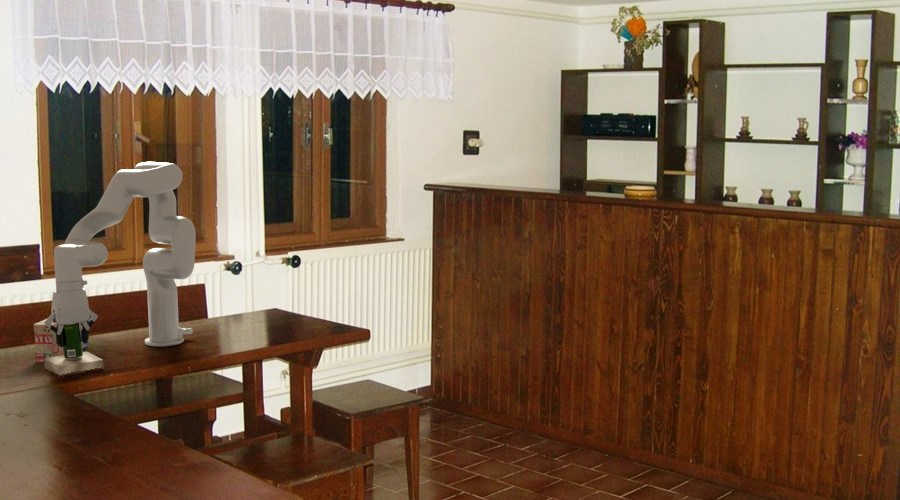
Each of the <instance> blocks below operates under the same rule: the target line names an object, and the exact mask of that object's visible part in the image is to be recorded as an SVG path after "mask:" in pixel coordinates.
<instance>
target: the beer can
mask: <svg viewBox="0 0 900 500" xmlns="http://www.w3.org/2000/svg"><path fill="white" fill-rule="evenodd" d="M62 334H63V340H64V347H63V353H64V358H65V359H66V360H77V359H80V358H82V356H83V352H84V350H83V349H82V343H81V335H80V327H79V323H70V324H67V325H64V327H63V329H62Z"/></svg>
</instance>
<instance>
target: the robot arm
mask: <svg viewBox="0 0 900 500" xmlns="http://www.w3.org/2000/svg"><path fill="white" fill-rule="evenodd" d="M182 181H183V172H182V169H181V168H180V167H179V166H178V165H177V164H175V163H172V162H171V163H170V162H156V161H145V162H144V161H143V162H139V163H138V164H136V165H135V166H134V169H128V168H126V169H120V170H118V171H117V172H116V173H114V175H113V176H112V178H111V180H110V182H109V184H108V185H107V187H106V189H105V190H104V193H103V194H102V196H101V198H100V200H99V201H98V204H97V205H96V207H95V208H94V209H92V210H91V211H90V212H88V213H86V215H85V216H83V217H82V218H81V219H80V220H79V221H78V222H77V223H76V224H74V226H73V227H72V228H71V230H70V232H69V233H68V235H67V237H66V239H65V241H64V243H63V244H59V245H57V246H55V247H54V249H53V261H54V278H55V290H53V292H52V298H51V314H50V315H49V316H48V317H47V318H48V319H47V318H46V319H47V320H46V321H45V322H44V324H45V325H46V326H47V327H49V328H50V329H51V330H52V331H53V332H55V333H56V343H57V345H58V346H60V347H64V340H63V334H62V329H63V327H64V325H67V324H70V323H80V324H81V326H82V329H81V341H82V342H83V343H85V344H87V343H88V344H89V330H90V329H91V327H92V326H93V325H94V323H95V322H96V321H97V319H98V317H99V315H98V314H97V313H95V312H93V310H91V309H90V307H89V301H88V295H87V292H86V289H85V288H84V286H85V285H88V280H86V279H83V268H84V267H88V268H89V267H98V266H100V265H103V264H104V263H105V262H106V261H107V259H108V257H109V250H108V249H107V247H106V245H104V244H103V243H101V242H97V241H92V238H93V237H95V235H97V233H99V232H101V231H103V230H106V229H108V228H110V227H113V226H114V225H117V224H119V223H120V222H122V221H123V219H124V217H125V215H126V214H127V211H128V209H129V208H130V206H131V204H132V202H133V200H134V199H135V198H148V202H149V215H148V220H149V221H148V235H149V239H150V240H151V241H152V242H153V243H156V244H160V245H168V246H171V248H164V247H154V248H151V249H149V250H148V251H147V252H146V253H145V254H144V256H143V257H142V269H143V273H144V277H145V282H146V293H147V311H148V313H147V315H148V333H149V334H148V336H149V337H147V338H145V339H144V344H145V345H146V346H149V347H169V346H176V345H180V344H182V343H184V341H185V338H184V336H185V335H189V334H190V335H191V334H193V333H194V329H193V328H192V327H187V328H186V327H180V326H179V324H180V323H179V306H178V304H179V302H178V301H179V300H178V286H177V284H176V281H175V280H186V279H188V278H189V277H190V276H191V275H192V274H193V271H194V268H195V263H196V262H195V260H196V258H195V257H196V241H197V240H196V237H197V236H196V235H197V234H196V232H197V231H196V227H195V226H194V223H193V221H192V220H191V219H189V218H188V217H185V216H180V215H178V216H177V199H176V194H175V192H174V190H176V189H178V187H179V186H180V185H181V183H182ZM51 322H54V323H57V324H56V327H54V326H53V325H52V324H51ZM87 340H88V342H87Z"/></svg>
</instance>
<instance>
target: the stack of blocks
mask: <svg viewBox="0 0 900 500" xmlns="http://www.w3.org/2000/svg"><path fill="white" fill-rule="evenodd" d="M47 319H48V317H47V318H45V319H43V320H40V321H39V322H36V323H34V324H33V333H34V334H33V338H34V339H33V340H34V349H35V351H34V352H35V353H34V354H35V363H44V358H49V357H55V356H62V355H64V353H63V347H60V346H58V345H57V343H56V333H55V332H53V331H52V330H51V329H50V328H49V327H47V326H46V325H45V324H44V322H45V321H46V320H47ZM51 324H52V325H53V326H54V327H56V324H57V323H54V322H51ZM79 327H80V335H81V329H82V326H81V324H80V323H79ZM87 342H88V343H87V344H85V343H83V342H82V341H81V343H82V350H84V349H85V348H87V347H89V340H87Z"/></svg>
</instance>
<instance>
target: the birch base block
mask: <svg viewBox="0 0 900 500" xmlns="http://www.w3.org/2000/svg"><path fill="white" fill-rule="evenodd" d="M44 362H45V363H44ZM44 362H43V363H44V369H46V368H47V369H49V370H52V371H53V372H55V373H57V374H59V375H62V374H67V373H71V372H77V371H84V370H90V369H95V368H101V367H103V368H104V359H102V358H100V357H98V356H96V355H95V354H93V353H91V352H89V351H83V356H82V358H80V359H77V360H66V359H65V358H64V355H62V356H55V357H49V358H44ZM47 369H46V370H47ZM49 370H48V371H49Z"/></svg>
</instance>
